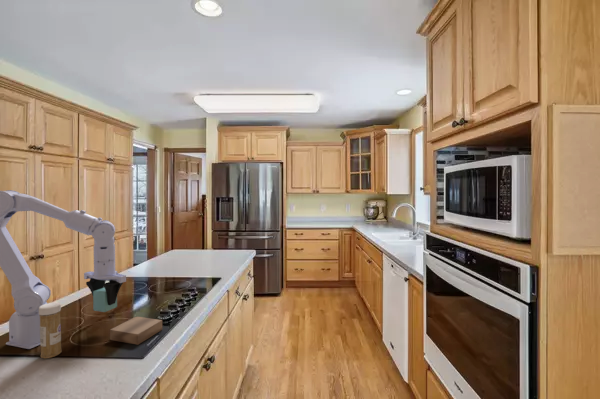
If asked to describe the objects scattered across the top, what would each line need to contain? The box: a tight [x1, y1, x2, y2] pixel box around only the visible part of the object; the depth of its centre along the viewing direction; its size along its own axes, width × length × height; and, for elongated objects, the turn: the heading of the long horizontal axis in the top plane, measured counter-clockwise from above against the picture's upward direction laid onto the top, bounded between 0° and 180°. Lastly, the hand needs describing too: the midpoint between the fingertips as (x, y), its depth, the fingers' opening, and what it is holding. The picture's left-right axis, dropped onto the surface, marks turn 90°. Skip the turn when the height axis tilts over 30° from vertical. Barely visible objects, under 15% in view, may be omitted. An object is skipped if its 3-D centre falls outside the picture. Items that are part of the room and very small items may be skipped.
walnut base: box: [109, 316, 163, 346], centre depth 97 cm, size 10×10×3 cm
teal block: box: [92, 288, 118, 313], centre depth 100 cm, size 4×4×6 cm
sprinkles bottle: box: [39, 302, 62, 359], centre depth 85 cm, size 5×5×14 cm
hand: (105, 303), depth 100 cm, fingers closed on teal block, 4 cm apart
